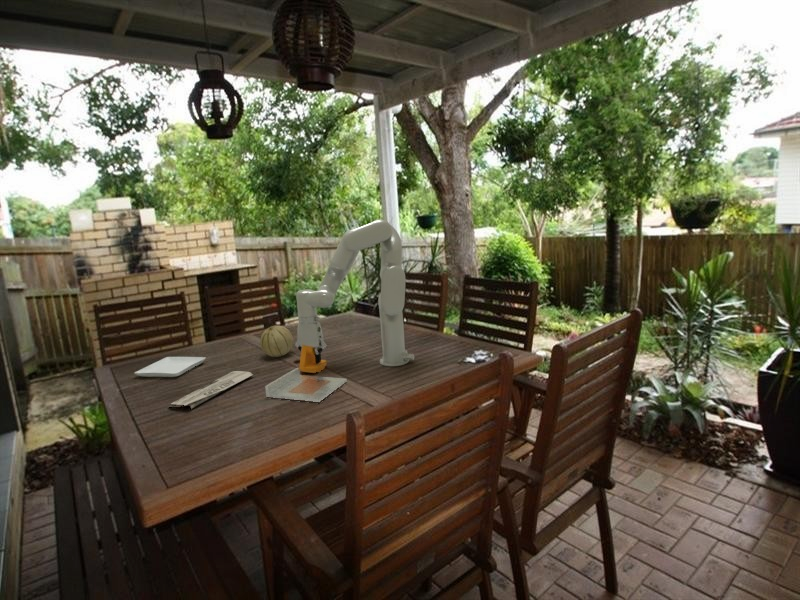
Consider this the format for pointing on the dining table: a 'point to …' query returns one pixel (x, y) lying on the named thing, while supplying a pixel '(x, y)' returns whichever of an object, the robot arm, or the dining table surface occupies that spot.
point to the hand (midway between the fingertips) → (312, 361)
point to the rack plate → (303, 386)
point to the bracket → (310, 360)
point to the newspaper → (212, 389)
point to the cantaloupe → (276, 341)
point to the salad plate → (170, 366)
